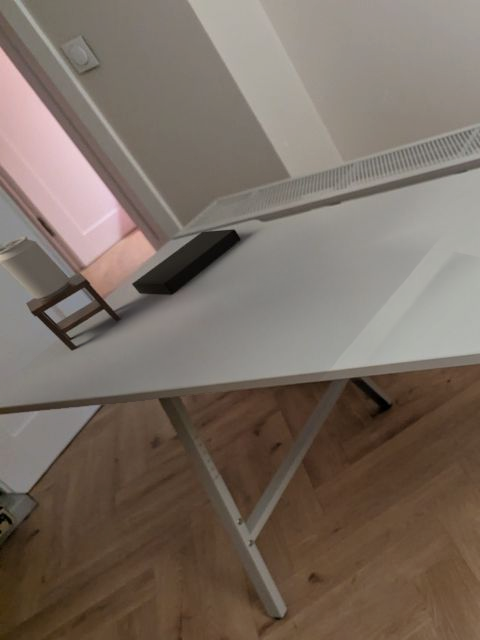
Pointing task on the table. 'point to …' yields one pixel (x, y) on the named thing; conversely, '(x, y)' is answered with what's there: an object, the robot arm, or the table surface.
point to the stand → (76, 318)
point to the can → (33, 268)
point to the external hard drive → (186, 262)
